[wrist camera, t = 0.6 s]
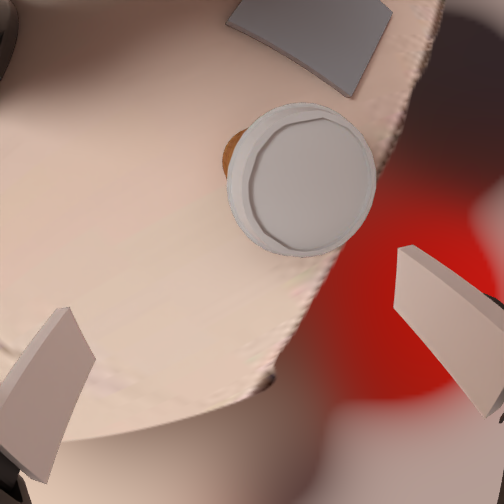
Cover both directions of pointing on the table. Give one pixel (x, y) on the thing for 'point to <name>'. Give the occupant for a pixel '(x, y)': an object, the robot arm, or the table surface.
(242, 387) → the table surface
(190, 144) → the table surface
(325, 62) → the charcoal tile
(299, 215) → the disposable coffee cup
